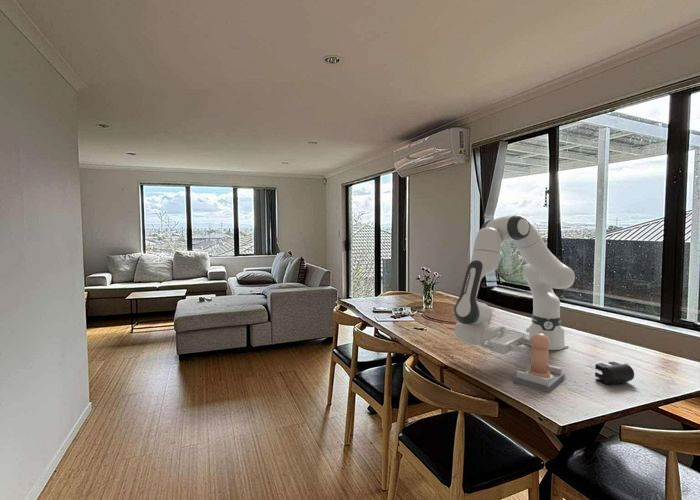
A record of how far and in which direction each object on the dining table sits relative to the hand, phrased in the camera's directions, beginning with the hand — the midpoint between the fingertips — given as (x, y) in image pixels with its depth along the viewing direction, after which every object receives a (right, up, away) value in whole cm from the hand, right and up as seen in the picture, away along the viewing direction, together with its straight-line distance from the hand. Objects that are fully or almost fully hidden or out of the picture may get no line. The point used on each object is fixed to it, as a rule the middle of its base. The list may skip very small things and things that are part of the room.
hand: (529, 346), depth 137 cm
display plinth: (+3, -12, -2) cm, 12 cm away
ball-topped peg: (+3, -10, -2) cm, 10 cm away
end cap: (+28, -12, -4) cm, 31 cm away
